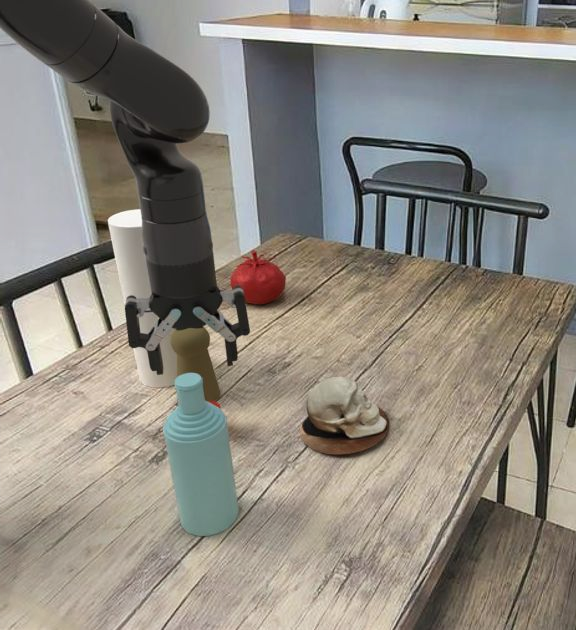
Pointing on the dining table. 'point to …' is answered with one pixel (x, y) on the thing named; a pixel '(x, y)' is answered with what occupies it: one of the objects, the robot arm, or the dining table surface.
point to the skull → (342, 418)
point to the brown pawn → (196, 358)
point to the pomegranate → (259, 279)
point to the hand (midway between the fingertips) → (195, 367)
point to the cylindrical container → (140, 293)
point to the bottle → (200, 460)
